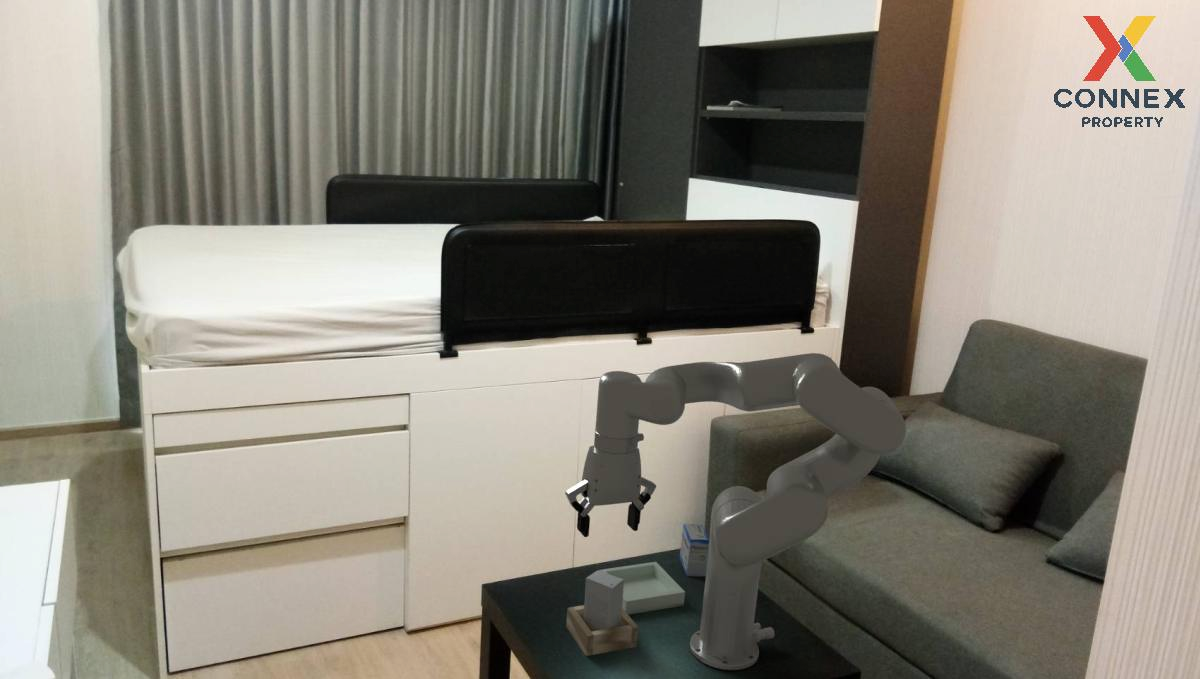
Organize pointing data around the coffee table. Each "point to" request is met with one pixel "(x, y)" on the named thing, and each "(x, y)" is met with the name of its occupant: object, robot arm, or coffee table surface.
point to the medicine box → (694, 550)
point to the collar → (601, 633)
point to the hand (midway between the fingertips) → (608, 530)
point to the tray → (647, 588)
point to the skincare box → (603, 601)
